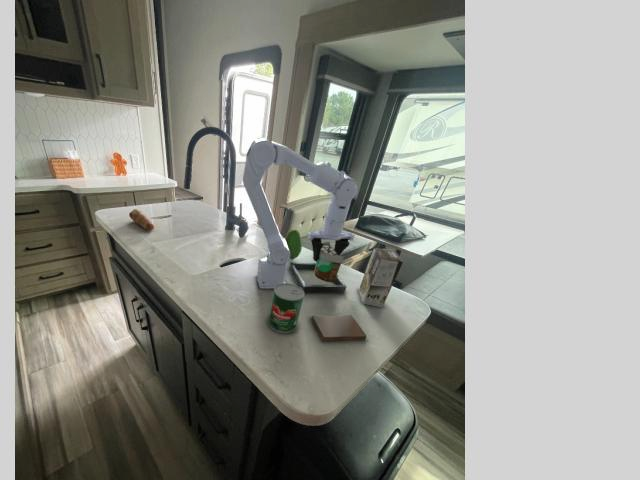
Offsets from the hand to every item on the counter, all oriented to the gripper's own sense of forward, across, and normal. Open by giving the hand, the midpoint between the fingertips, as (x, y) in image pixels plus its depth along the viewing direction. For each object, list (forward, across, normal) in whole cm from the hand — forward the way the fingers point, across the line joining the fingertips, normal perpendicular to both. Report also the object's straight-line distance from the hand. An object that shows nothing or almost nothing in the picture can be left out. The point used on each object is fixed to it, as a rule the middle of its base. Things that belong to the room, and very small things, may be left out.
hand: (324, 260), depth 88 cm
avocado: (+4, -4, +21) cm, 22 cm away
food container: (+6, 0, 0) cm, 6 cm away
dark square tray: (+10, 0, +4) cm, 11 cm away
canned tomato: (+10, -18, -20) cm, 29 cm away
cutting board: (+10, -3, -23) cm, 25 cm away
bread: (+10, -68, +56) cm, 89 cm away
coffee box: (+10, +15, -8) cm, 20 cm away
